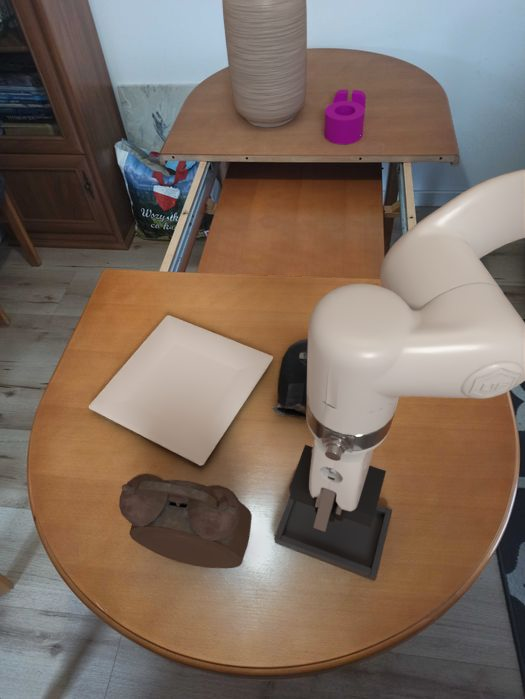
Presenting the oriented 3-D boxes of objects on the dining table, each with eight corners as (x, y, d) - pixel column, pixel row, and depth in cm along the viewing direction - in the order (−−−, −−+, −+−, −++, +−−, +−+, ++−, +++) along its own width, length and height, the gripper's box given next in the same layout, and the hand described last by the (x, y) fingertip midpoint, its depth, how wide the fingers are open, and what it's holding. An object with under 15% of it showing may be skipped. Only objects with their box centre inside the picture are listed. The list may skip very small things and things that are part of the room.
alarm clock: (260, 526, 68) (247, 463, 53) (248, 582, 64) (230, 532, 48) (161, 507, 71) (120, 442, 55) (143, 560, 67) (93, 505, 51)
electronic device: (333, 426, 79) (341, 345, 86) (329, 412, 74) (337, 327, 81) (276, 422, 81) (288, 343, 88) (269, 408, 77) (282, 327, 84)
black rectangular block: (382, 483, 58) (386, 470, 55) (370, 527, 55) (374, 516, 52) (305, 457, 61) (305, 444, 58) (289, 498, 57) (289, 486, 55)
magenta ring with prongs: (360, 145, 126) (362, 121, 121) (321, 143, 128) (322, 119, 123) (367, 114, 135) (369, 90, 130) (331, 112, 137) (332, 89, 132)
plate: (274, 363, 85) (274, 355, 84) (204, 471, 74) (201, 465, 72) (169, 321, 93) (167, 313, 91) (91, 413, 82) (86, 406, 80)
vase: (253, 93, 147) (242, -48, 121) (317, 103, 141) (320, -43, 114) (221, 126, 136) (202, -20, 110) (289, 138, 130) (285, -14, 104)
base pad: (390, 514, 68) (392, 509, 66) (374, 581, 63) (376, 577, 61) (296, 482, 72) (296, 476, 70) (274, 543, 67) (274, 538, 65)
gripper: (367, 514, 37) (348, 575, 52) (412, 345, 47) (386, 437, 61) (274, 481, 39) (280, 549, 54) (336, 326, 49) (327, 419, 63)
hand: (337, 488), depth 57 cm, fingers closed on black rectangular block, 5 cm apart
